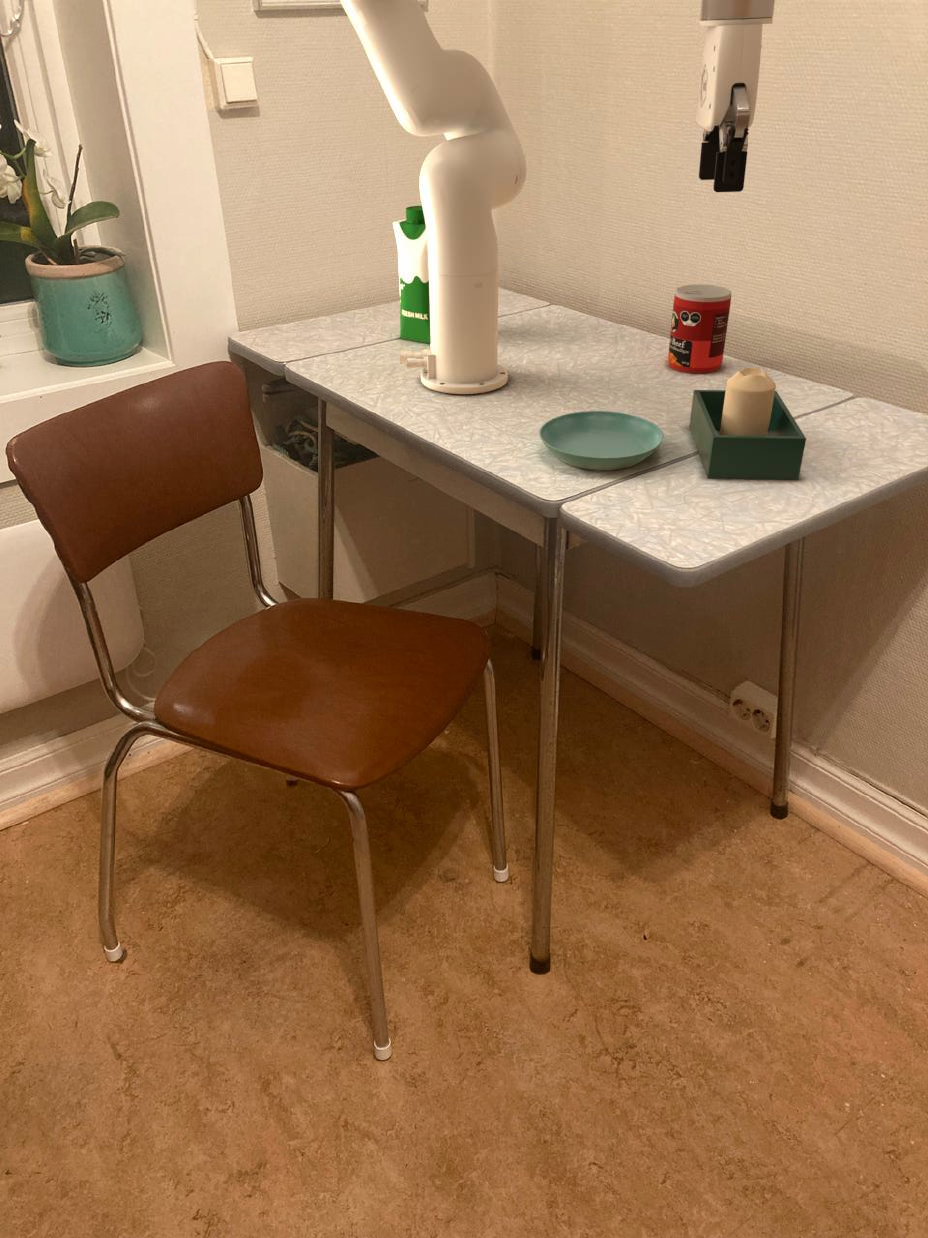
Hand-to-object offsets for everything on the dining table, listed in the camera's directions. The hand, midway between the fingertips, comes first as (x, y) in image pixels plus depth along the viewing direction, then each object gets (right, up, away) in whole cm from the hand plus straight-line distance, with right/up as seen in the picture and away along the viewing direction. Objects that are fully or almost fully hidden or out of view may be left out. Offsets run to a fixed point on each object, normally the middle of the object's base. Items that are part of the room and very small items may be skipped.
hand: (719, 184), depth 110 cm
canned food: (+5, -12, +34) cm, 36 cm away
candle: (+4, -30, +6) cm, 31 cm away
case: (+4, -30, +6) cm, 31 cm away
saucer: (-13, -30, +6) cm, 33 cm away
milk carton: (-35, -4, +48) cm, 59 cm away
